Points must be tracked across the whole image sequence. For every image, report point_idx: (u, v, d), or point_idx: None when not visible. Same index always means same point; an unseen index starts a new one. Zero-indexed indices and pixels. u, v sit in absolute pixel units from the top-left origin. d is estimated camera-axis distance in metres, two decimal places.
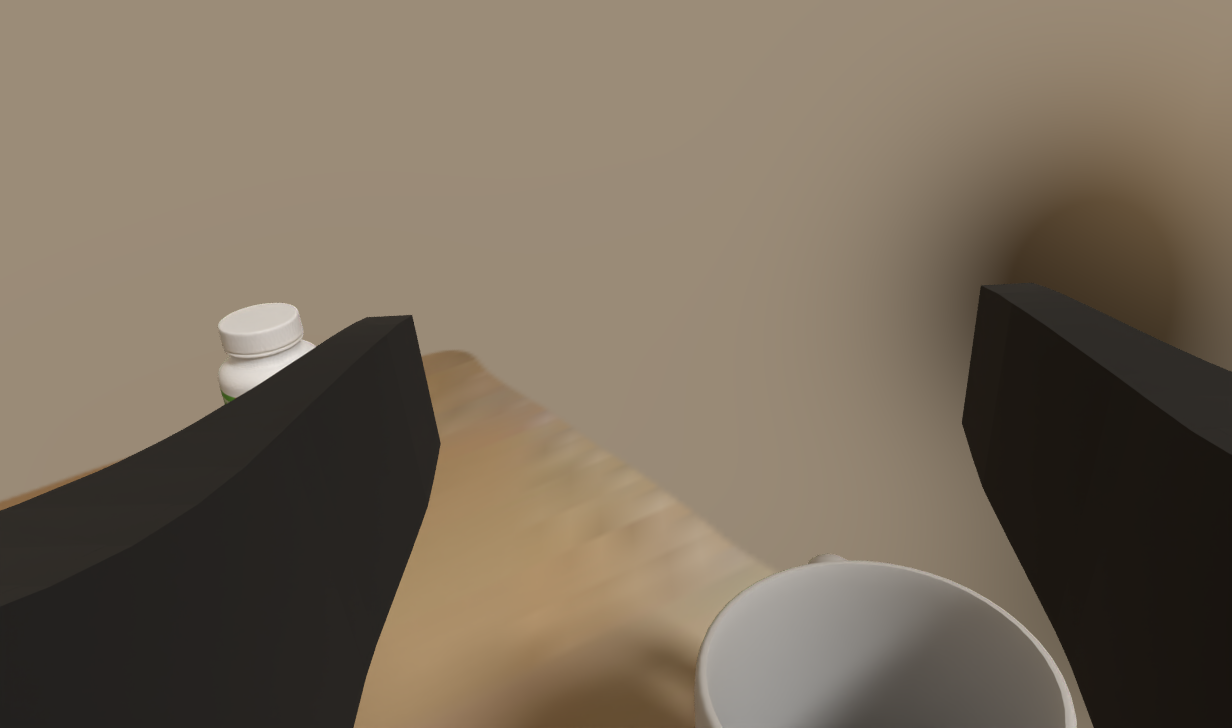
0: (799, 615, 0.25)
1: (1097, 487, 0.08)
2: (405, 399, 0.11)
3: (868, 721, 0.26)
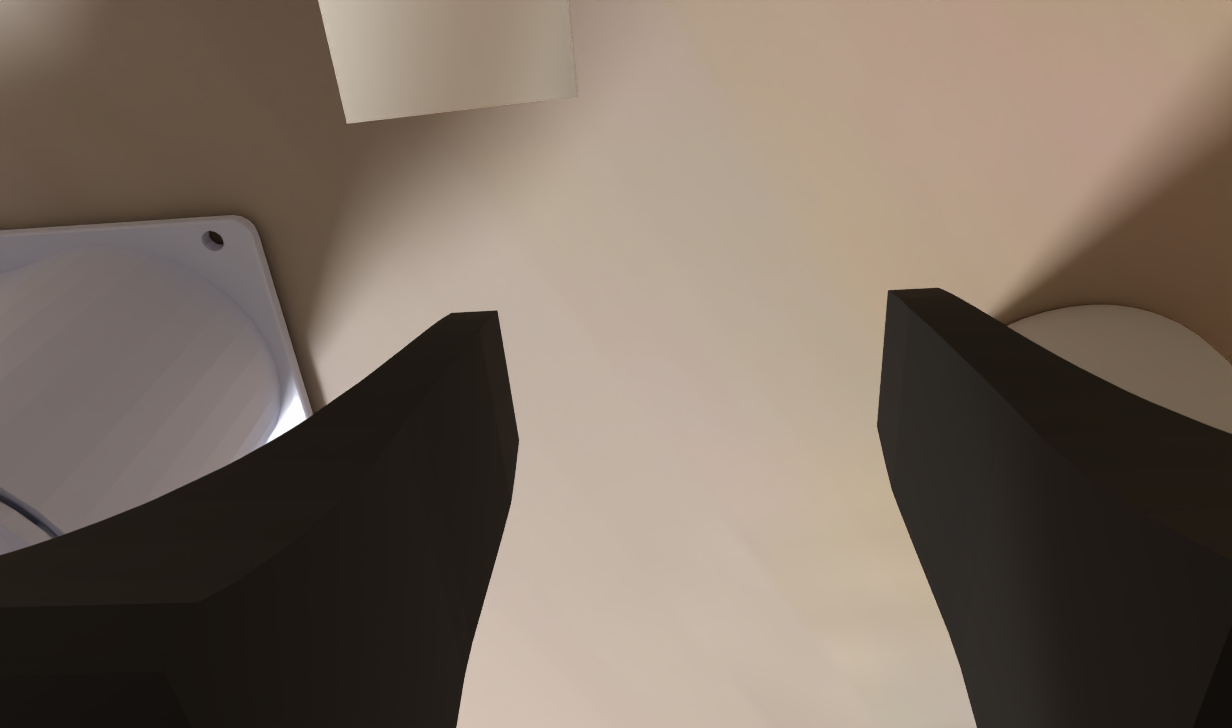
0: None
1: (976, 491, 0.08)
2: (494, 395, 0.11)
3: None
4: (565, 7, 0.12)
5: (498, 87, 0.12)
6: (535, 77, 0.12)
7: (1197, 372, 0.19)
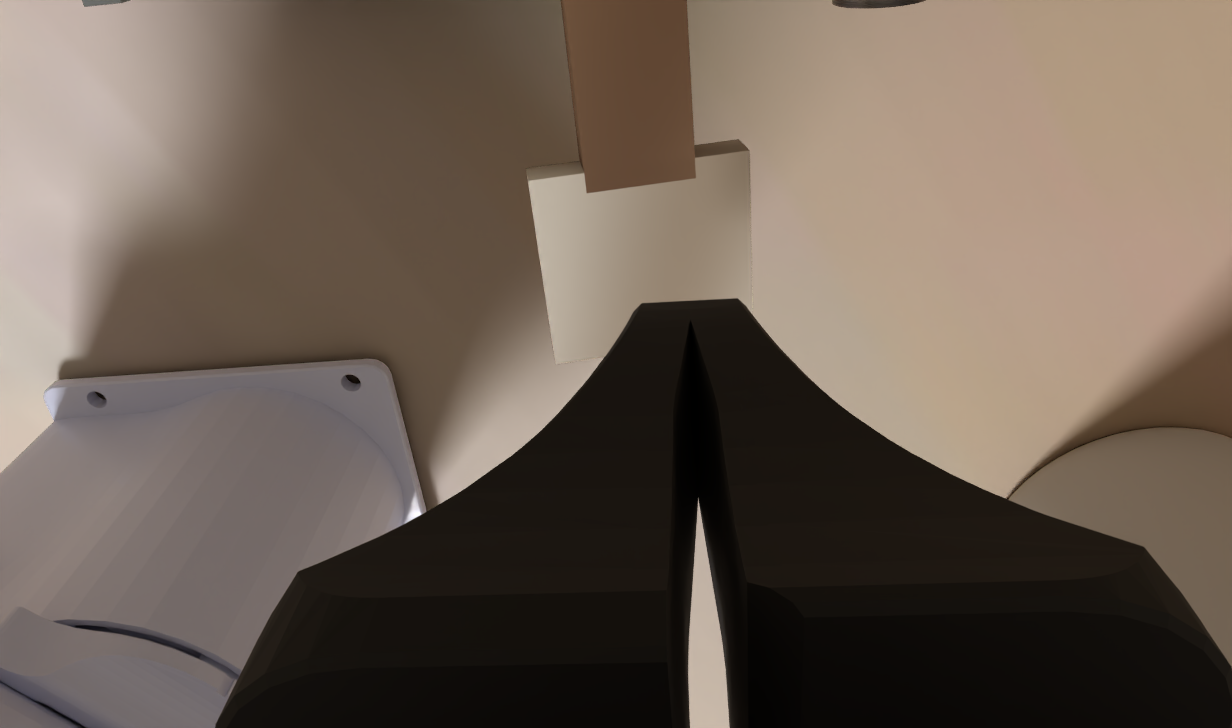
0: None
1: (718, 501, 0.09)
2: None
3: None
4: (749, 267, 0.14)
5: None
6: None
7: None
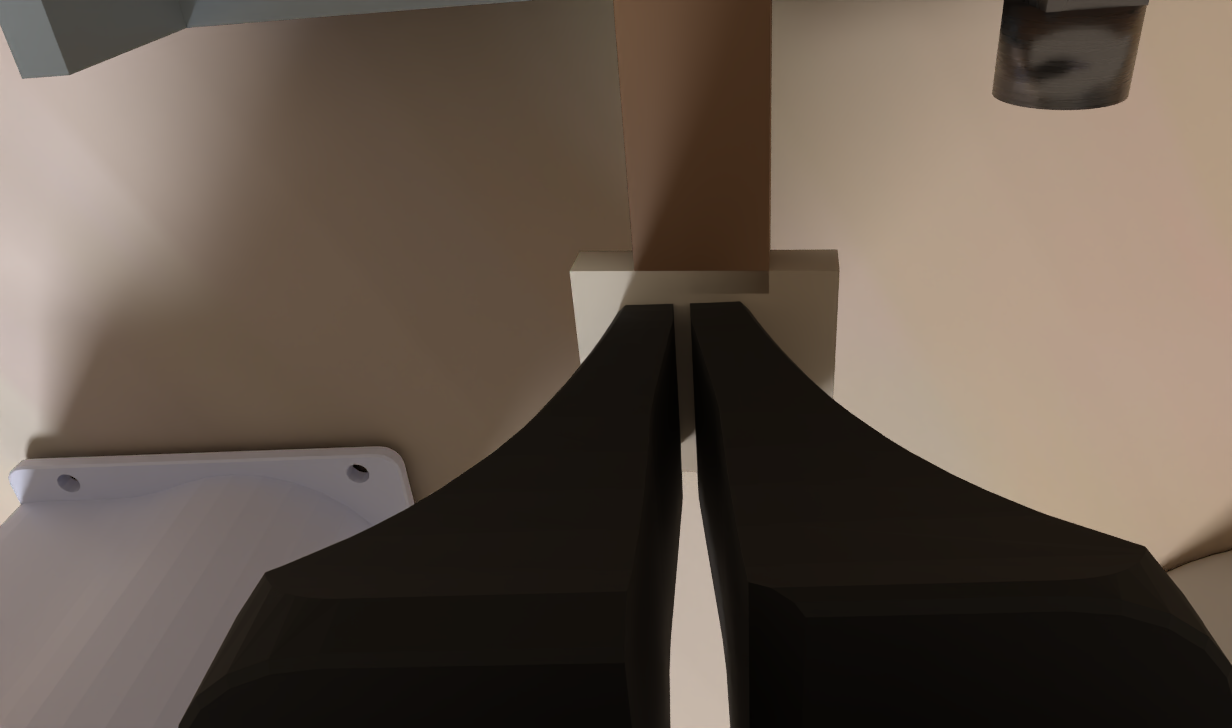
0: None
1: (720, 500, 0.09)
2: None
3: None
4: None
5: None
6: None
7: None
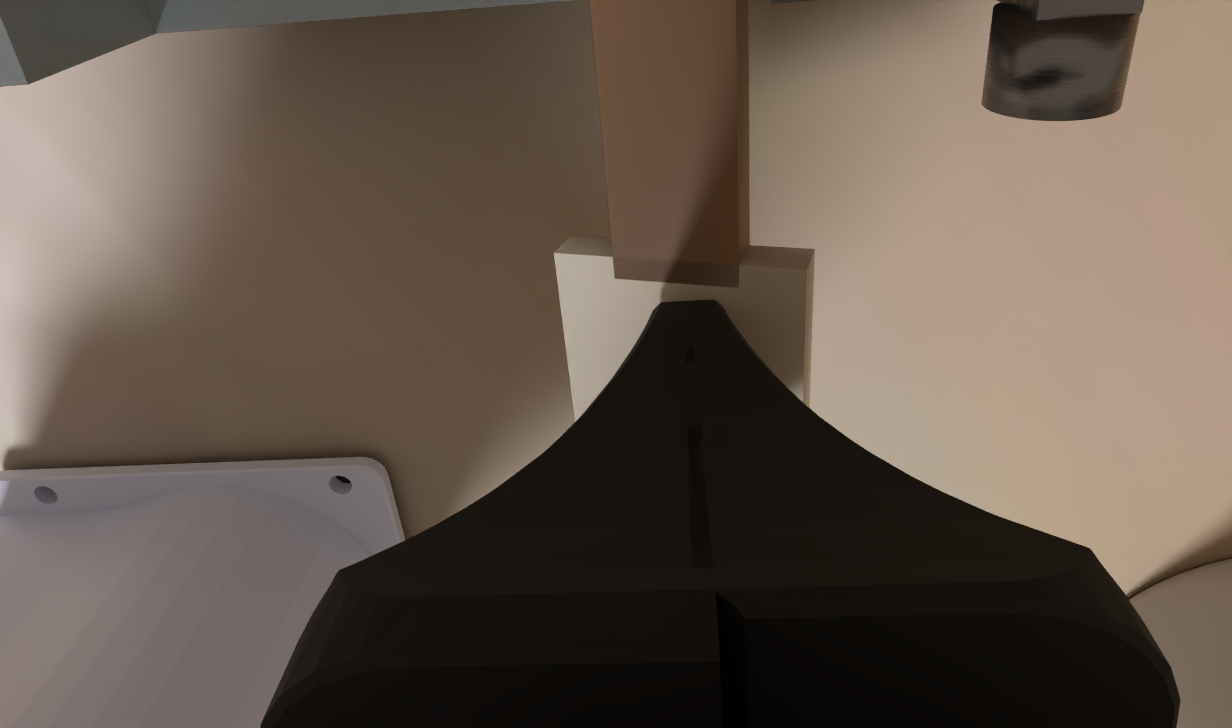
0: None
1: None
2: None
3: None
4: None
5: None
6: None
7: None
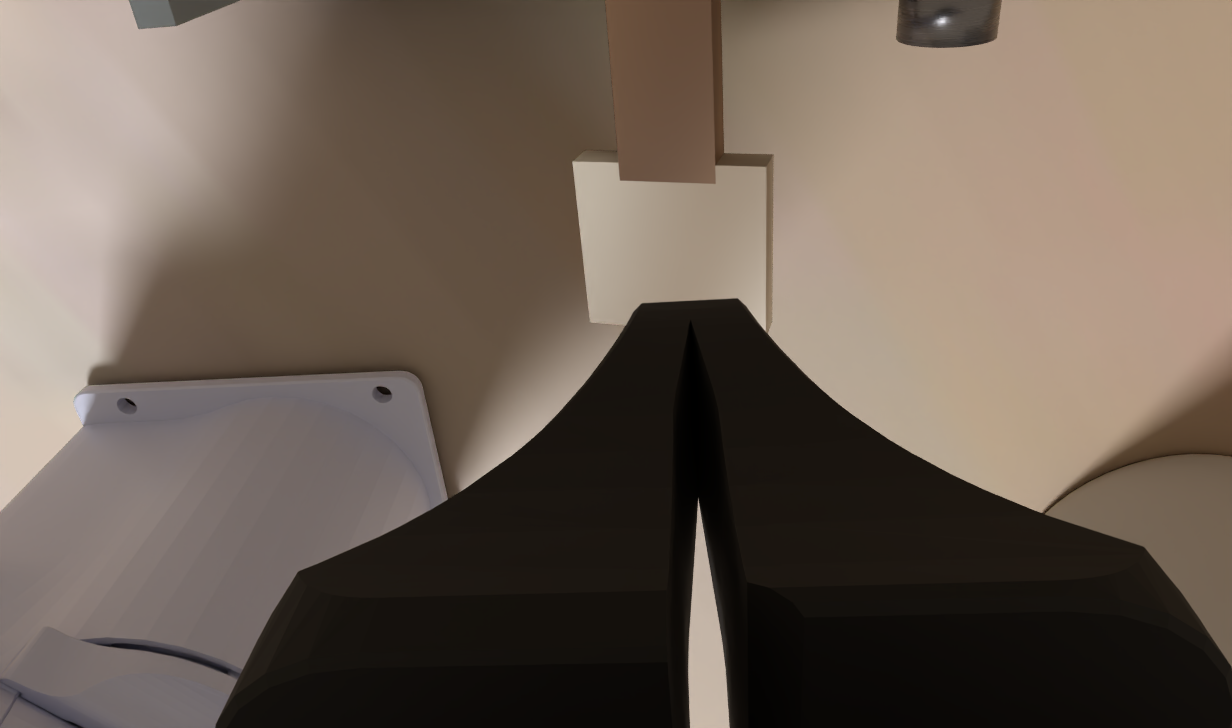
0: None
1: (718, 501, 0.09)
2: None
3: None
4: (763, 275, 0.15)
5: None
6: None
7: None
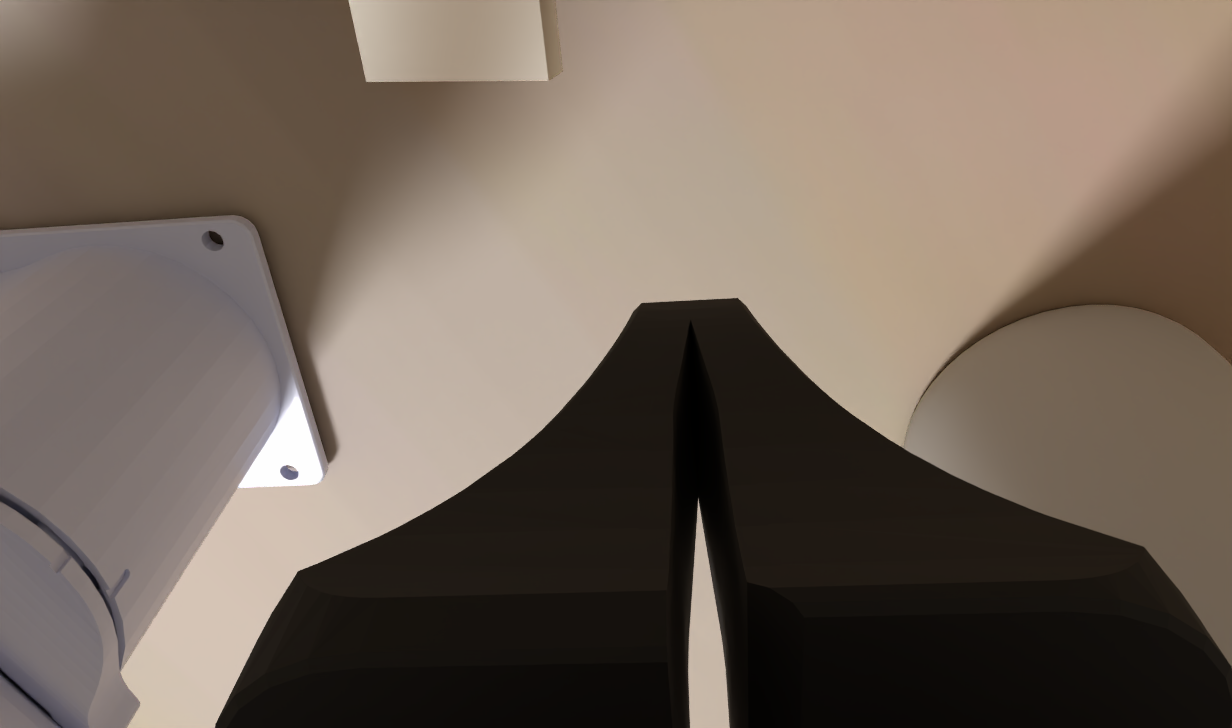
0: None
1: (718, 501, 0.09)
2: None
3: None
4: None
5: (481, 64, 0.14)
6: (511, 58, 0.14)
7: (1197, 372, 0.19)
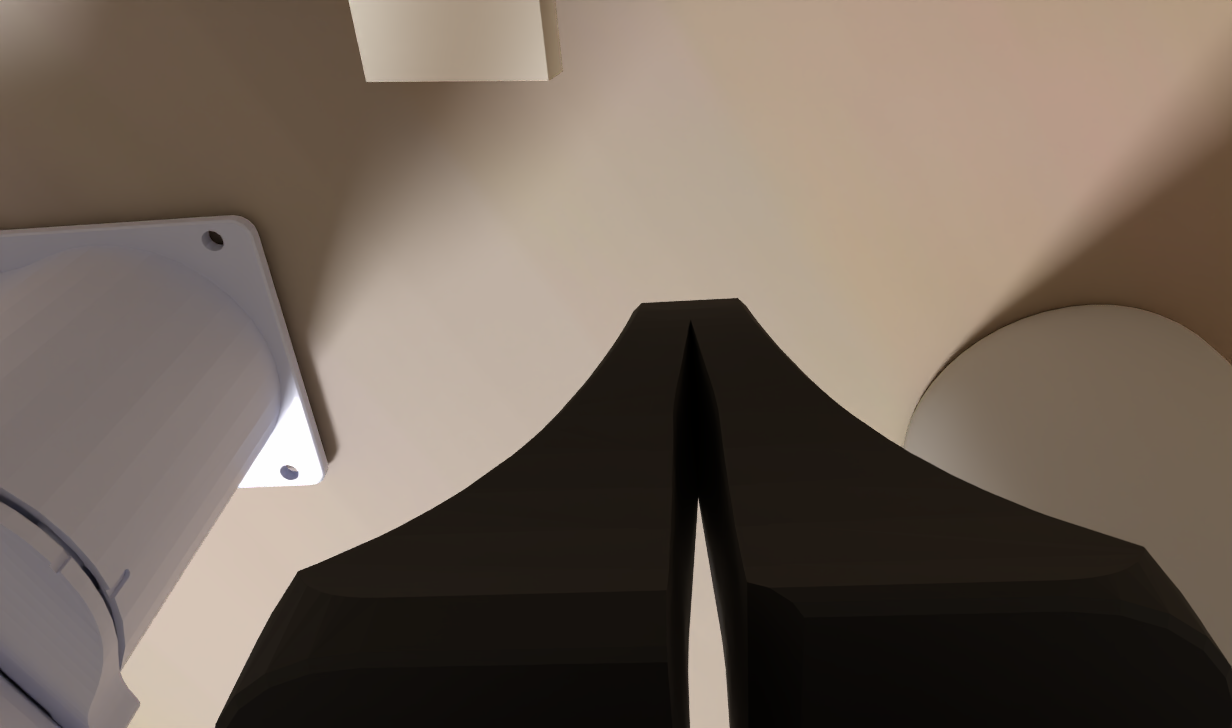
0: None
1: (718, 501, 0.09)
2: None
3: None
4: None
5: (481, 64, 0.14)
6: (511, 58, 0.14)
7: (1197, 372, 0.19)
